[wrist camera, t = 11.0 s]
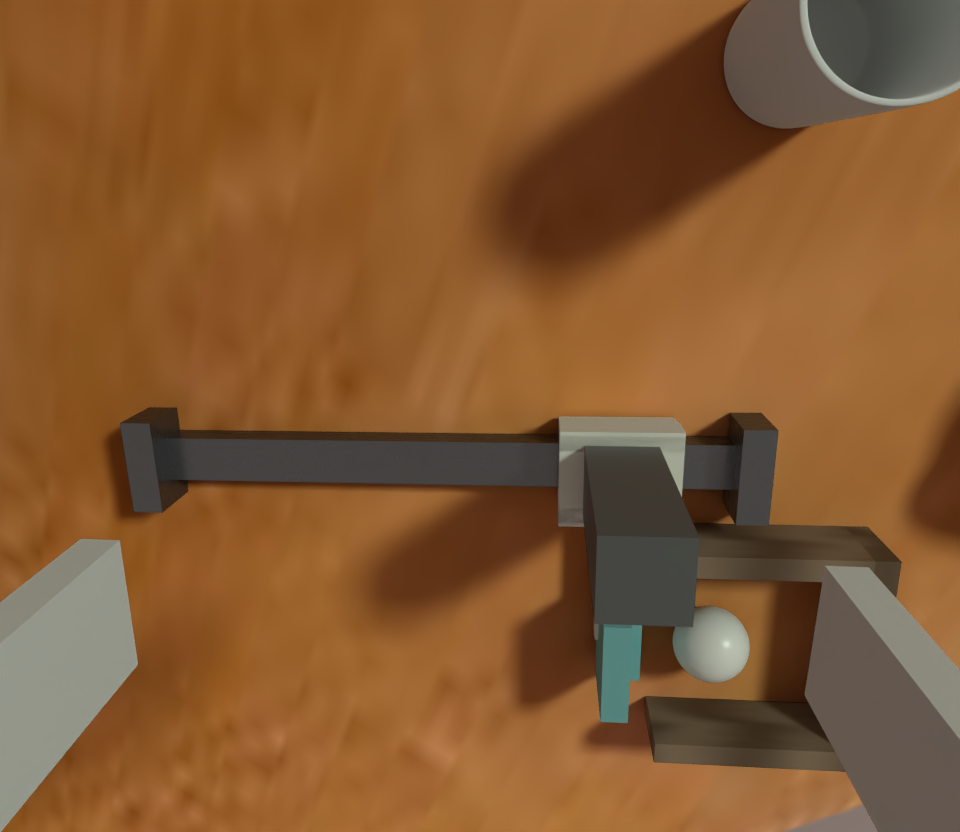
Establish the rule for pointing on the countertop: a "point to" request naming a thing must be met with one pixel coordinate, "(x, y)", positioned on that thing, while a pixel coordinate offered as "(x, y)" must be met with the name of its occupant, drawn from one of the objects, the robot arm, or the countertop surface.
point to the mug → (840, 58)
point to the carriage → (628, 537)
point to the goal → (762, 724)
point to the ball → (712, 645)
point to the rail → (418, 460)
